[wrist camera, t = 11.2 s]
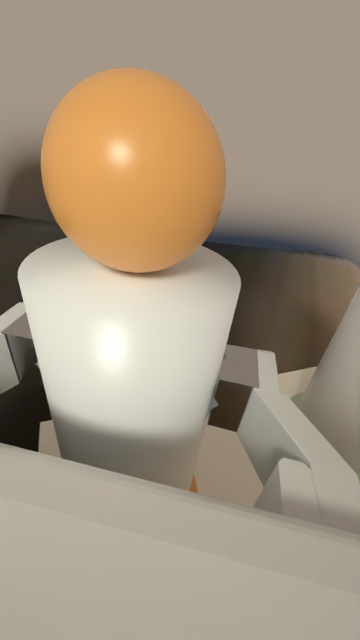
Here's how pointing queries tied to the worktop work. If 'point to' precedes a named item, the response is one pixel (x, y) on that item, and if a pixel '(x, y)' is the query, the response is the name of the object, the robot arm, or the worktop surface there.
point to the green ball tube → (338, 389)
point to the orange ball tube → (131, 275)
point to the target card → (217, 452)
